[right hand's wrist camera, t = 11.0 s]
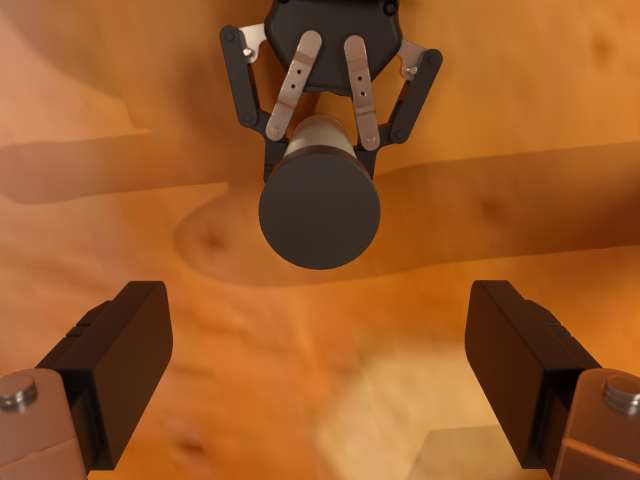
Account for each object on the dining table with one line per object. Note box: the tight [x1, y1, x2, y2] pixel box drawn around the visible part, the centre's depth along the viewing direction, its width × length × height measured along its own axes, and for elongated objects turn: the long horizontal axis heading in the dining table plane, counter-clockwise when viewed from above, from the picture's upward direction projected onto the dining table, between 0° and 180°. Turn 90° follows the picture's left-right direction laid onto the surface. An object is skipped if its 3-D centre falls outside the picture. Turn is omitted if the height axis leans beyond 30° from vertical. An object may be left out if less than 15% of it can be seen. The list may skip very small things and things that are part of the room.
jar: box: [283, 115, 357, 159], centre depth 28 cm, size 5×5×18 cm
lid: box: [259, 145, 380, 270], centre depth 20 cm, size 5×5×2 cm
